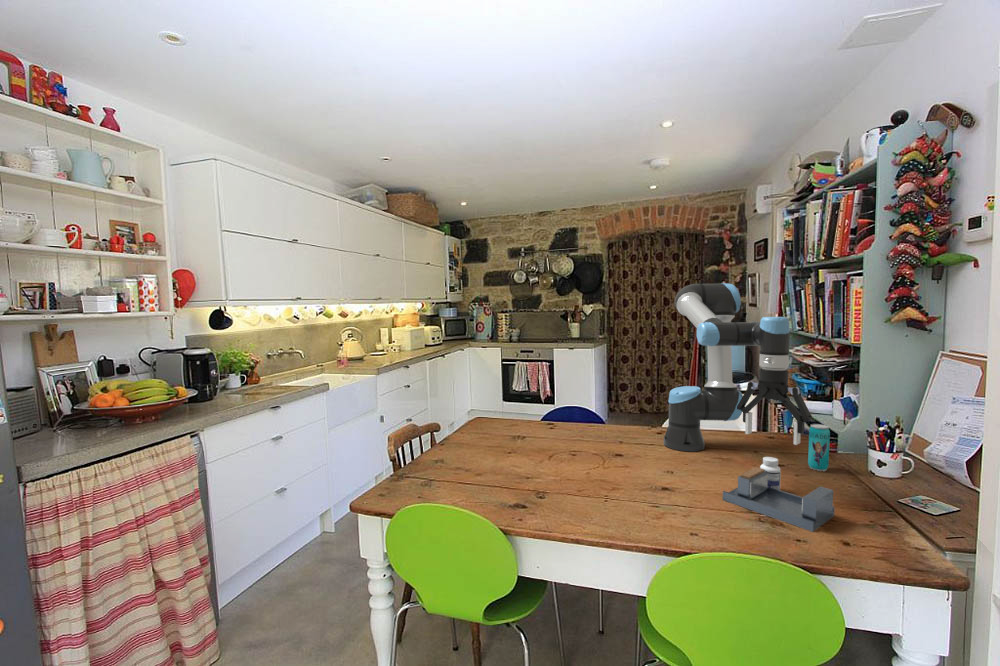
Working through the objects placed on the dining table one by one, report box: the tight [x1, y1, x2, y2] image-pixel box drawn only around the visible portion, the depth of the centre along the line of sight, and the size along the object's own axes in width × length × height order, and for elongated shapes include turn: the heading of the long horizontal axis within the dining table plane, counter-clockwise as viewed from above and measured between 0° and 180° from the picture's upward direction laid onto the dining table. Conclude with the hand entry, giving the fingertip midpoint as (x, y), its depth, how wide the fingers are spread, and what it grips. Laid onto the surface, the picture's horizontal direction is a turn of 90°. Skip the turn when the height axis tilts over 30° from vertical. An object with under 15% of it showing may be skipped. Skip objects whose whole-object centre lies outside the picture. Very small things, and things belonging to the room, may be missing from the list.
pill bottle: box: [759, 456, 782, 490], centre depth 139 cm, size 5×5×10 cm
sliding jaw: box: [737, 466, 768, 500], centre depth 132 cm, size 3×11×7 cm, turn 126°
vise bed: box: [722, 486, 835, 533], centre depth 127 cm, size 23×14×8 cm, turn 36°
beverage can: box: [807, 423, 831, 472], centre depth 155 cm, size 6×6×15 cm
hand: (771, 438), depth 138 cm, fingers open, 13 cm apart
